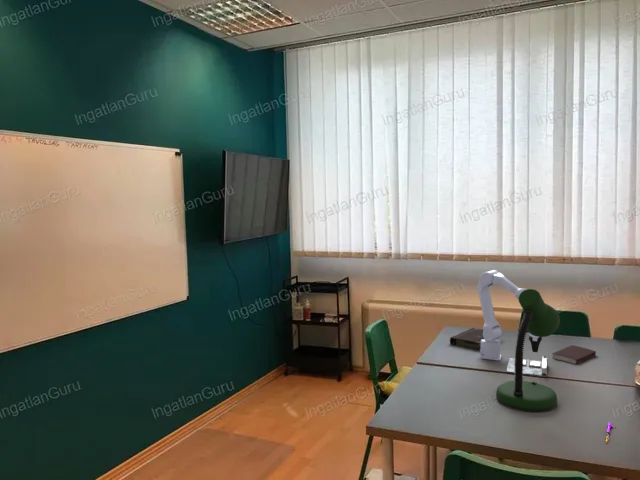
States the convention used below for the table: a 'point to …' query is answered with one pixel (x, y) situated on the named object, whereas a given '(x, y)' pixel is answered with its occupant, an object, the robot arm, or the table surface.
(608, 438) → the purple handled tool
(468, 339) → the diary
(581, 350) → the book
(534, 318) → the desk lamp
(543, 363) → the cable arm
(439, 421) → the table surface
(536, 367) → the server tray
